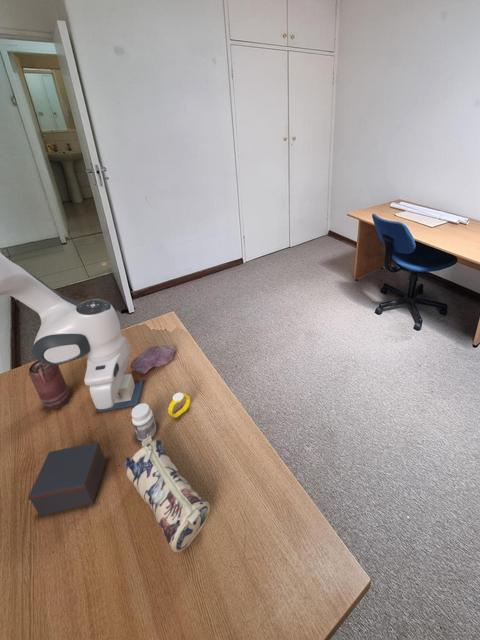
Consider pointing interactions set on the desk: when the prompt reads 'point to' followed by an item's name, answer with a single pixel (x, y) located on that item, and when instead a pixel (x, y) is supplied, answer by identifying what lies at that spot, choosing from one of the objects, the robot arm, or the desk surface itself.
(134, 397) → the mat
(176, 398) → the watch
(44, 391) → the can
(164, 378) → the desk surface
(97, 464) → the storage box
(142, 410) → the pill bottle
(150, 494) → the pencil case
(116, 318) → the robot arm
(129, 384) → the small box
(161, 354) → the fossil
